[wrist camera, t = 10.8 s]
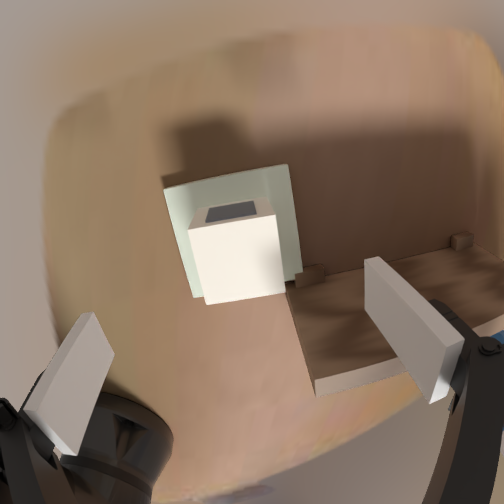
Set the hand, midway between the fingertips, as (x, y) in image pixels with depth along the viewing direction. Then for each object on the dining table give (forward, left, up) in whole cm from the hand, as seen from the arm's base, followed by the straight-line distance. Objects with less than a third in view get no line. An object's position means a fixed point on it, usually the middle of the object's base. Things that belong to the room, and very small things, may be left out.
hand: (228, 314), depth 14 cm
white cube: (+1, 0, -10) cm, 10 cm away
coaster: (0, 0, -11) cm, 11 cm away
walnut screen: (+13, -6, -11) cm, 18 cm away
